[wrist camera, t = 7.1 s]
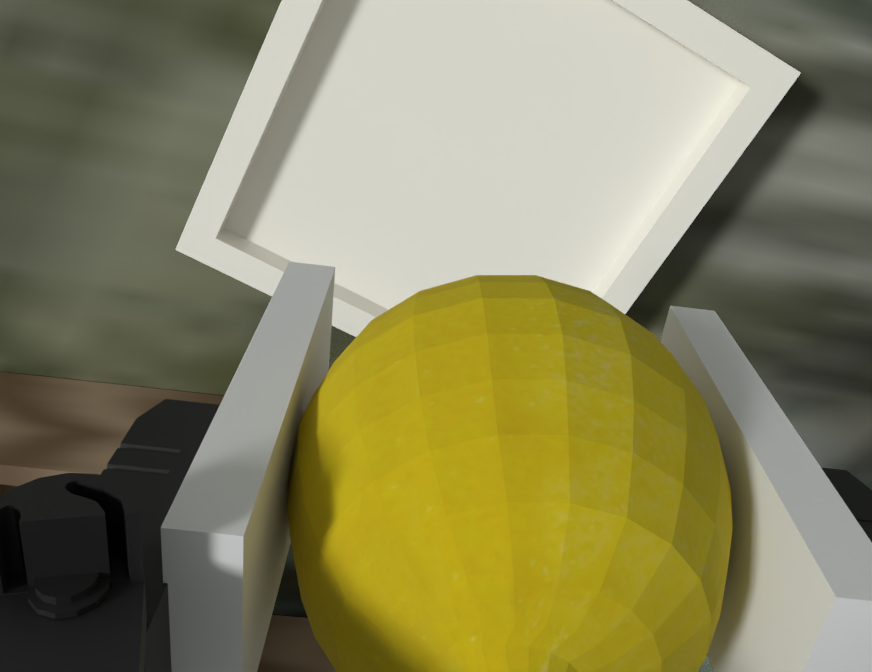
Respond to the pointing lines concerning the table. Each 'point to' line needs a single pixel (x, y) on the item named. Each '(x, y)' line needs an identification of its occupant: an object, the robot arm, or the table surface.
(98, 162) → the table surface
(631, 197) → the plate
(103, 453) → the open wooden box frame
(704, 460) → the fruit
